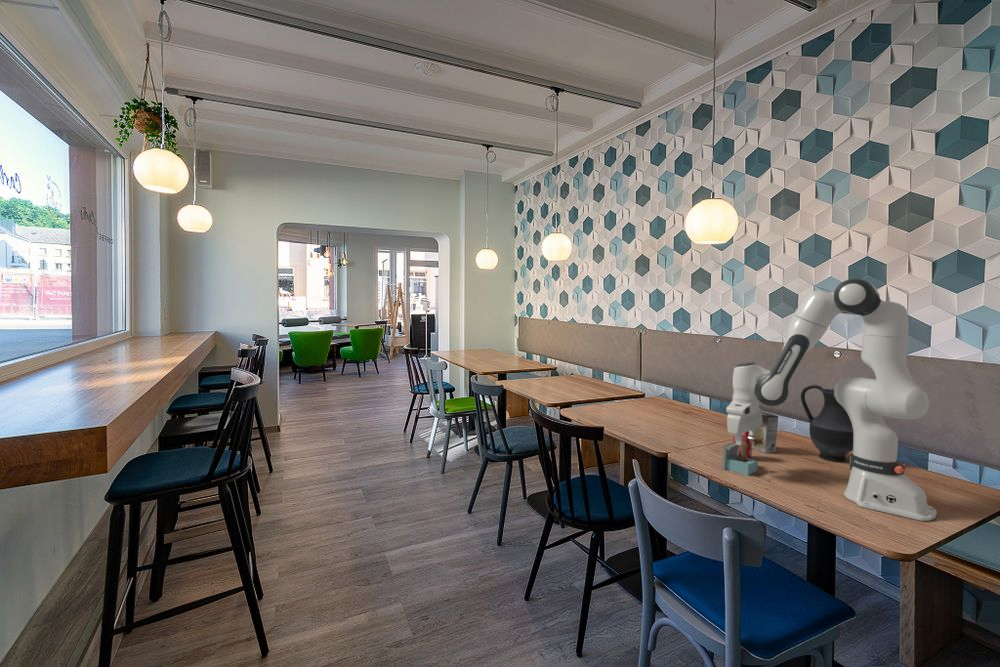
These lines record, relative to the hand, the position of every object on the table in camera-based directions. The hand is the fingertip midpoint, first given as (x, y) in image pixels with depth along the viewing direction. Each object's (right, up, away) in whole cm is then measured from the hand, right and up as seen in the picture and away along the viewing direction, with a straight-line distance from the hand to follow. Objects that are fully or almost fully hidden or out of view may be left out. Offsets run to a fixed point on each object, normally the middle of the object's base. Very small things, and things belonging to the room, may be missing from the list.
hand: (745, 442), depth 176 cm
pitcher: (+44, -11, +19) cm, 49 cm away
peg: (-2, -11, 0) cm, 11 cm away
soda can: (+7, -10, +16) cm, 20 cm away
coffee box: (+22, -10, +28) cm, 37 cm away
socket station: (-1, -11, +1) cm, 11 cm away
